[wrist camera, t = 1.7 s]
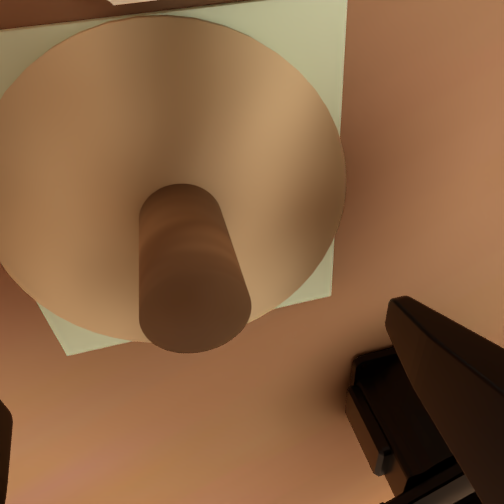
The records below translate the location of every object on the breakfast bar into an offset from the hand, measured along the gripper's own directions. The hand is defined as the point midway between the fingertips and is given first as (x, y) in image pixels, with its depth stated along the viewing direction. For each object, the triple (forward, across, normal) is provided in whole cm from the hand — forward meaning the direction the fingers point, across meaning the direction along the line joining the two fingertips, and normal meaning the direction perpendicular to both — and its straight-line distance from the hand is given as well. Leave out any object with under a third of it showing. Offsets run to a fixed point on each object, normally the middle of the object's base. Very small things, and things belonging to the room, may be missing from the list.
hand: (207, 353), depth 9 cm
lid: (+7, 0, 0) cm, 7 cm away
